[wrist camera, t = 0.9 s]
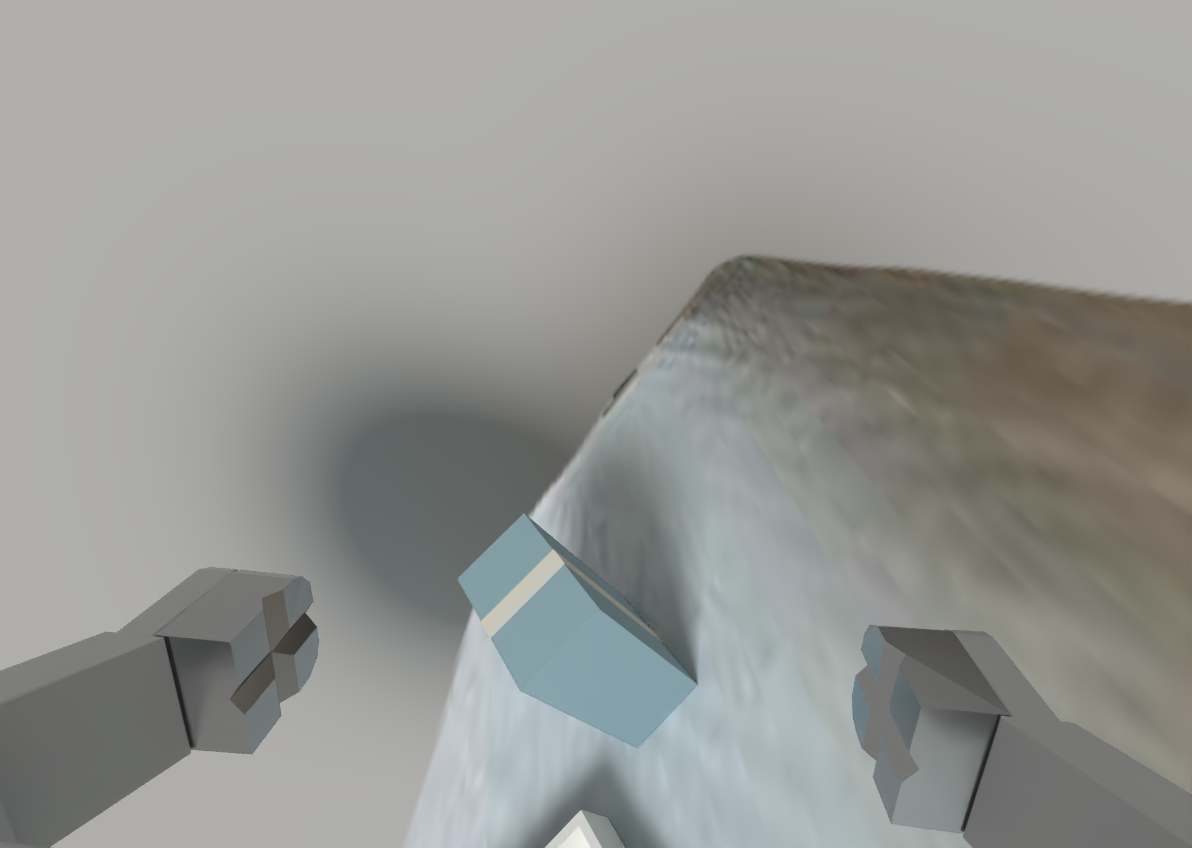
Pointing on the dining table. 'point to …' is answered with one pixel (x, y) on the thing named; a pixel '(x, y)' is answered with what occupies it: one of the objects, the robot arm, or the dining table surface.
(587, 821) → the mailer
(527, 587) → the gift box
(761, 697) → the dining table surface
